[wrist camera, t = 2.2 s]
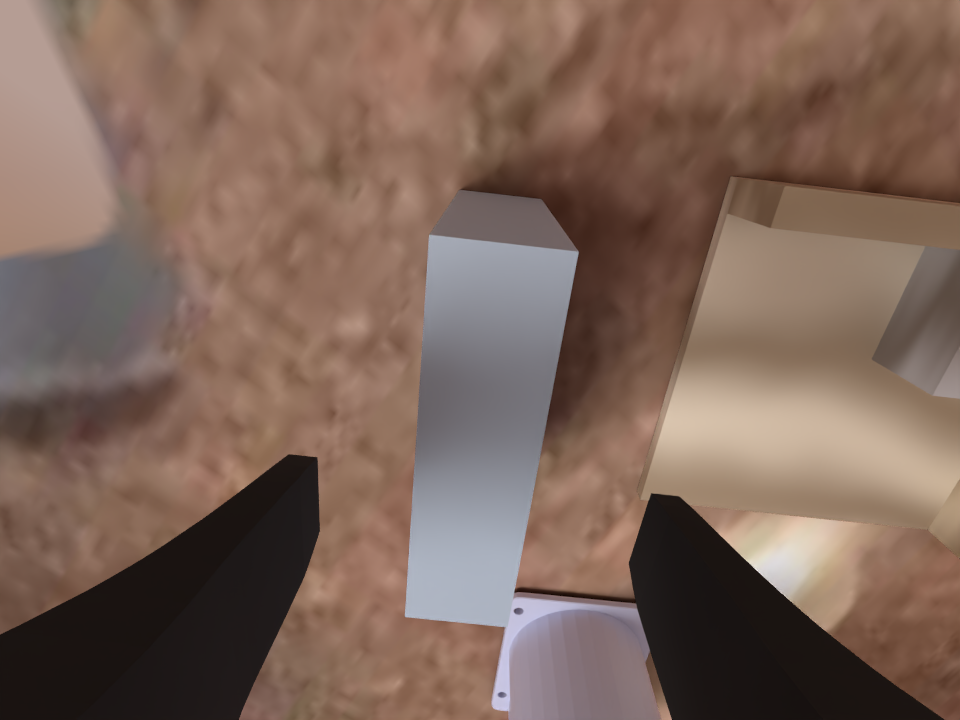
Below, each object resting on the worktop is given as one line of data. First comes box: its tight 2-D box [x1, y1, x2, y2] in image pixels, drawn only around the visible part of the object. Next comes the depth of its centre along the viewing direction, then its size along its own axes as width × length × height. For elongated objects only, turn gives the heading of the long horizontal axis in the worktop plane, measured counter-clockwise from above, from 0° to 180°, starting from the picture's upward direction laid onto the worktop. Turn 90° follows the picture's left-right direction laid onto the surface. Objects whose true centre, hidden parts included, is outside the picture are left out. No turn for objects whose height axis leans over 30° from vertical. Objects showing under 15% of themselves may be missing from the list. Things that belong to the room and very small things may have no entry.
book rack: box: [637, 176, 960, 559], centre depth 19 cm, size 14×16×4 cm
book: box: [405, 190, 579, 627], centre depth 16 cm, size 11×3×9 cm, turn 174°
